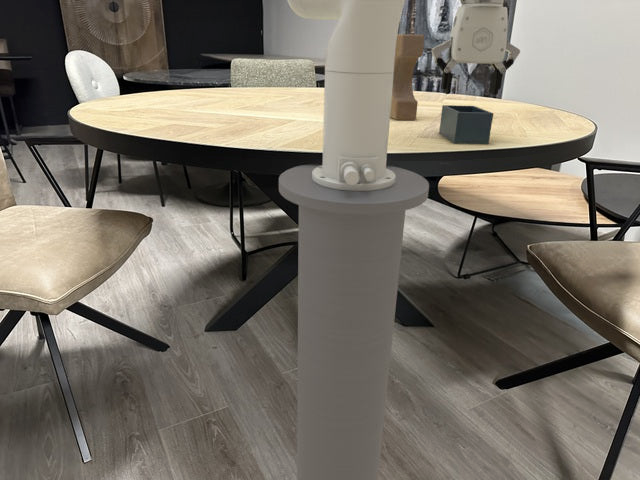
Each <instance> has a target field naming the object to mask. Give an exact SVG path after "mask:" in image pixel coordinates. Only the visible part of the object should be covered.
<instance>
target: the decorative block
mask: <svg viewBox="0 0 640 480" xmlns="http://www.w3.org/2000/svg"><path fill="white" fill-rule="evenodd" d="M425 38H426V37H425V35H424V34H418V33H417V34H413V33H398V34H397V42H396V51H395V61H394V75H393V87H392V99H391V111H390V119H393V120H395V121H415V120H416V119H417V113H418V105H419V104H418V103H419V102H418V100H417V99H416V98H415V95H414V91H413V75H414V70H415V66H416V64H417V61H418V60H419V58H422V56H423V55H424V46H425Z"/></svg>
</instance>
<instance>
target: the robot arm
mask: <svg viewBox="0 0 640 480" xmlns="http://www.w3.org/2000/svg"><path fill="white" fill-rule="evenodd" d="M405 1H406V0H286V2H287V4H288V5H289V8H291V10H292V11H293V12H294V13H295V14H296V15H297V16H299V17H300V18H303V19H306V20H316V21H317V20H319V21H320V20H323V21H326V20H329V21H333V20H334V21H335V20H336V21H337V20H338V22H337V24H336V26H335V28H334V30H333V32H332V35H331V36H330V38H329V41H328V44H327V46H326V51H325V57H324V89H323V91H324V92H323V94H324V95H323V124H322V125H323V128H322V129H323V130H322V132H323V133H322V161H321V162H322V166H319V167H317V168H315V169H314V170H313V171H312V180H313V181H314V182H315V183H317V184H319V185H321V186H324V187H327V188H331V189H336V190H344V191H375V190H381V189H385V188H388V187H390V186H392V185H393V184H394V183H395V178H396V175H395V173H394V172H392V171H391V170H389V169H387V168H386V165H387V160H388V148H389V147H388V145H389V136H390V135H389V134H390V125H391V124H390V123H391V117H390V111H391V99H392V87H393V75H394V61H395V51H396V42H397V34H399V28H400V22H401V18H402V13H403V9H404V6H405ZM459 1H460V6H458V7H457V9H456V12H455V16H454V20H453V23H452V27H451V31H450V37H449V39H448V40H447V39H446V40H445V41H444V42H441V43H439V44H438V45H436V46H434V47H432V48H431V50H430V51H431V55H432V58H433V60H434V64H436V66H437V67H438V69H440V71H441V73H442V74H441V83H440V84H441V85H440V89H441V90H442V93H443V94H445V95H450V94H451V91H452V83H453V72H452V70H453V69H454V68H455V67H456V65H458V64H490V66H491V67H492V69H493V70H494V71H492V72H491V75H490V82H489V88H488V93H489V94H492V95H494V96H495V95H498V94H499V91H500V90H501V88H502V82H503V77H504V76H503V75H504V74H505V73H506V72H507V70H508V69H509V68H511V67H512V66H513V65H514V63H515V62H516V59H518V56H519V55H520V54H521V49H519V48H518V47H517V46H515V45H513V44H512V43H511V42H509V41H507V39H508V21H509V20H508V7H507V6H504V0H459ZM446 50H447V60H446V61H445V60H444V59H443V56H442V54H441V53H442V52H444V51H446ZM506 52H508V56H507V58H506V59H505V57H506Z"/></svg>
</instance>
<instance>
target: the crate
mask: <svg viewBox="0 0 640 480" xmlns="http://www.w3.org/2000/svg"><path fill="white" fill-rule="evenodd" d="M493 118H494V113H493V112H491V111H488V110H486V109H483V108H481V107H479V106H476V105H455V104H454V105H453V104H452V105H451V104H450V105H449V104H448V105H447V104H443V105H442V106H441V115H440V121H439V130H438V134H439V135H441V136H442V137H443V138H445V139H447V140H448V141H450V142H451V143H453V144H460V145H461V144H462V145H463V144H465V145H467V144H468V145H489V144H490V143H489V142H490V136H491V131H492V124H493V120H494V119H493Z"/></svg>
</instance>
